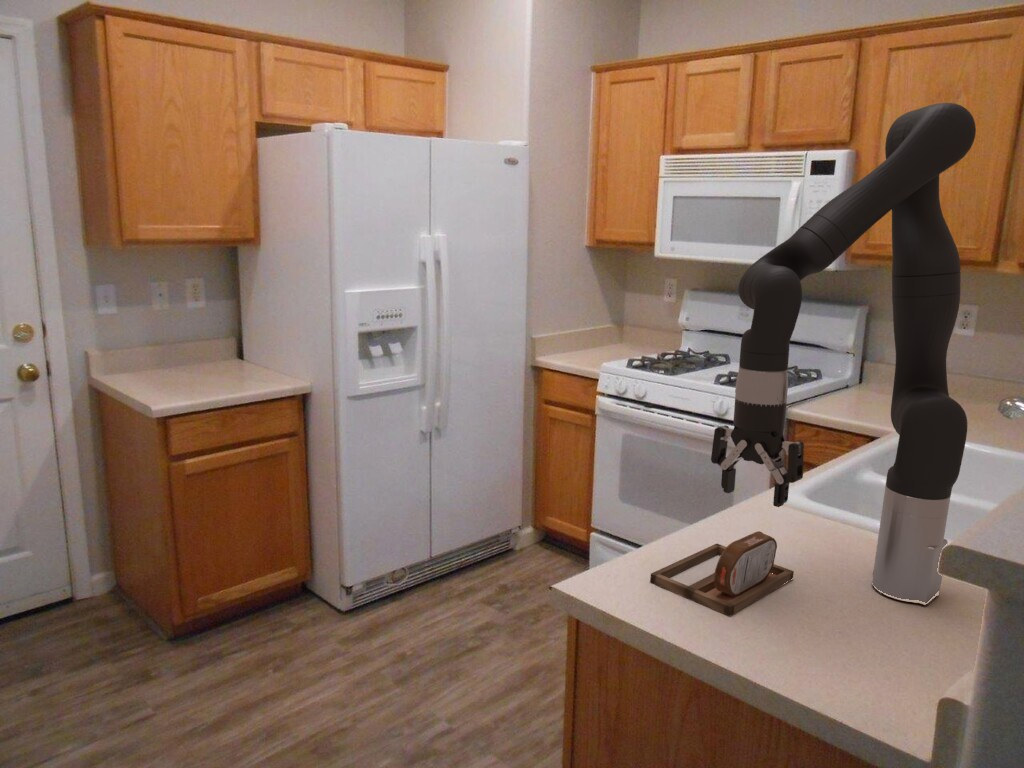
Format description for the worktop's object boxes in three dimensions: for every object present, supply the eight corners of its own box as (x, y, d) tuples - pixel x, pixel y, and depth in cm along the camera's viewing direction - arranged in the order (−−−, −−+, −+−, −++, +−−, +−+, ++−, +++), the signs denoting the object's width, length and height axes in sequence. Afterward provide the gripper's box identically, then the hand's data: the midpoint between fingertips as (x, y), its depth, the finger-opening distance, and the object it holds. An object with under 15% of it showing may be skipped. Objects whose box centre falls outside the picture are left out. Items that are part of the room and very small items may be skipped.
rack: (792, 579, 130) (793, 571, 130) (729, 616, 117) (730, 607, 117) (715, 551, 141) (716, 543, 140) (650, 582, 127) (650, 573, 127)
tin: (759, 571, 132) (764, 524, 131) (777, 578, 130) (782, 530, 128) (710, 598, 122) (714, 547, 120) (727, 605, 120) (733, 553, 118)
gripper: (817, 401, 117) (807, 504, 121) (732, 386, 127) (725, 482, 131) (793, 409, 112) (784, 516, 115) (706, 393, 122) (700, 492, 125)
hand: (752, 498), depth 123 cm, fingers open, 8 cm apart
